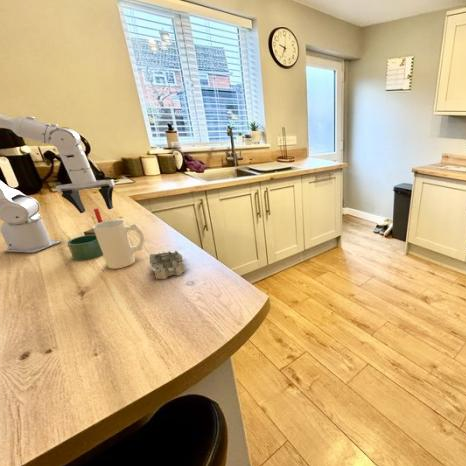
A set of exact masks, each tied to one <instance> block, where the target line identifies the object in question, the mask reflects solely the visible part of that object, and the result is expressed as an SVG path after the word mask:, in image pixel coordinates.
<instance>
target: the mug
mask: <svg viewBox="0 0 466 466" xmlns="http://www.w3.org/2000/svg"><path fill="white" fill-rule="evenodd" d="M92 229H94V232H95V234H96V237H97V240H98V242H99V245H100V247H101V250H102V253H103V255H102V256H103V258H104V260H105V263H106V266H107V267H108V268H109V269H115V270H116V269H122V268H126V267H129V266H131V265H132V264H134V263H135V262H136V259H135V254H134V253H136V252H139V251H142V250H143V247H144V242H145V236H144V233H143V231H142V229H141V228H140V227H139V226H138V225H137V224H136V223H131V224H129V225H126V221H125V220H123V219H111V220H106V221H105V220H104V221H103V222H101V223H98V222H97V223H95V224H93V226H92ZM130 231H135V232H136V233H137V234H138V237H139V241H138V243H137V245H133V246H132V244H131V240H130V236H129V232H130Z"/></svg>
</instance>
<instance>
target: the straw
mask: <svg viewBox="0 0 466 466" xmlns="http://www.w3.org/2000/svg"><path fill="white" fill-rule="evenodd" d="M93 212H94V215H95V217H96V220H97V224H98V223H101V222H104V221H103V219H102V215H101V212H100V209H99V208H93Z"/></svg>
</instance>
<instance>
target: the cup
mask: <svg viewBox="0 0 466 466" xmlns="http://www.w3.org/2000/svg"><path fill="white" fill-rule="evenodd" d="M67 247H68V249H69V252H70V254H71V257H72V259H73V260H74V261H87V260H88V261H89V260H92V259H95V258H98V257H100V256H104V255H103V253H102V250H101V247H100V245H99V242H98V240H97V237H96V235H86V236H85V235H81V236H78V237H77V236H76V237H74V238H72V239H69V240H68V241H67Z"/></svg>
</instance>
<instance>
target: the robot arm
mask: <svg viewBox="0 0 466 466" xmlns="http://www.w3.org/2000/svg"><path fill="white" fill-rule="evenodd" d="M0 128H3V129H6V130H11V131H12V132H13V133H14V134H15V135H16V136H17V137H20V138H24V139H28V140H32V141H34V142H39V143H43V144H47V145H52V146H53V147H54V148H55V149H57V151H58V154H59V157H60V160H61V162H62V164H63V166H64V168H65V170H66V172H67V174H68V176H69V179H70V181H71V183H67V184H66V183H65V184H60V185H59V184H58V185H56V186H55V189H56V192H57V193H58V194H59V193H60V194H61V193H62V194H61V197H62V198H63V199H65V200H66V201H67V202H69V203H70V204H71V205H72V206H73V207H74V208H75V209H76V210H77V211H78V212H79V213H80V214H84V213H85V212H86V208H85V206H84V204H83V201H82V199H81V195H80V191H83V190H91V189H98V192H99V194H100V195H101V197H102V198H103V201H104V203H105V206H106V208H107V209H108V210H112V209H113V208H114V206H113V192H114V187H115V186H116V183H115V181H114V179H99V180H97V179H96V176H95V174H94V172H93V170H92V167H91V165H90V162H89V160H88V158H87V155H86V153H85V152H84V149H83V147H82V144H81V141H82V138H81V136H80V134H79V133H78V132H77V131H76V130H74V129H72V128H69V127H67V126H62V127H59V124H57V123H48V122H45V121H41V120H37V119H36V117H34V116H32V115H26V116H24V115H20V116H17V117H10V116H8V115H4V114H1V113H0ZM40 209H41V205H40V203H39V202H38V200H37V199H35V198H34V197H31V196H29V195H26V194H24V193H23V192H21V190H18V189H15V188H13V187H9V186H8V185H7V184H5V183H4V182H3V181H2V180H0V220H1V221H3V223H2V224H1V226H0V233H1V236H2V237H3V240H4V241H5V243H6V246H7V249H5V252H10V253H12V252H13V253H29V254H30V253H31V254H34V253H35V254H36V253H37V252H40V251H42V250H45V249H48V248H50V247H52V246H55V245H57V244H60V240H51V238H50V235H49V233H48V230H47V228H46V226H45V223H44V221H43V219H42V216H41V215H40V214H39V212H40Z"/></svg>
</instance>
